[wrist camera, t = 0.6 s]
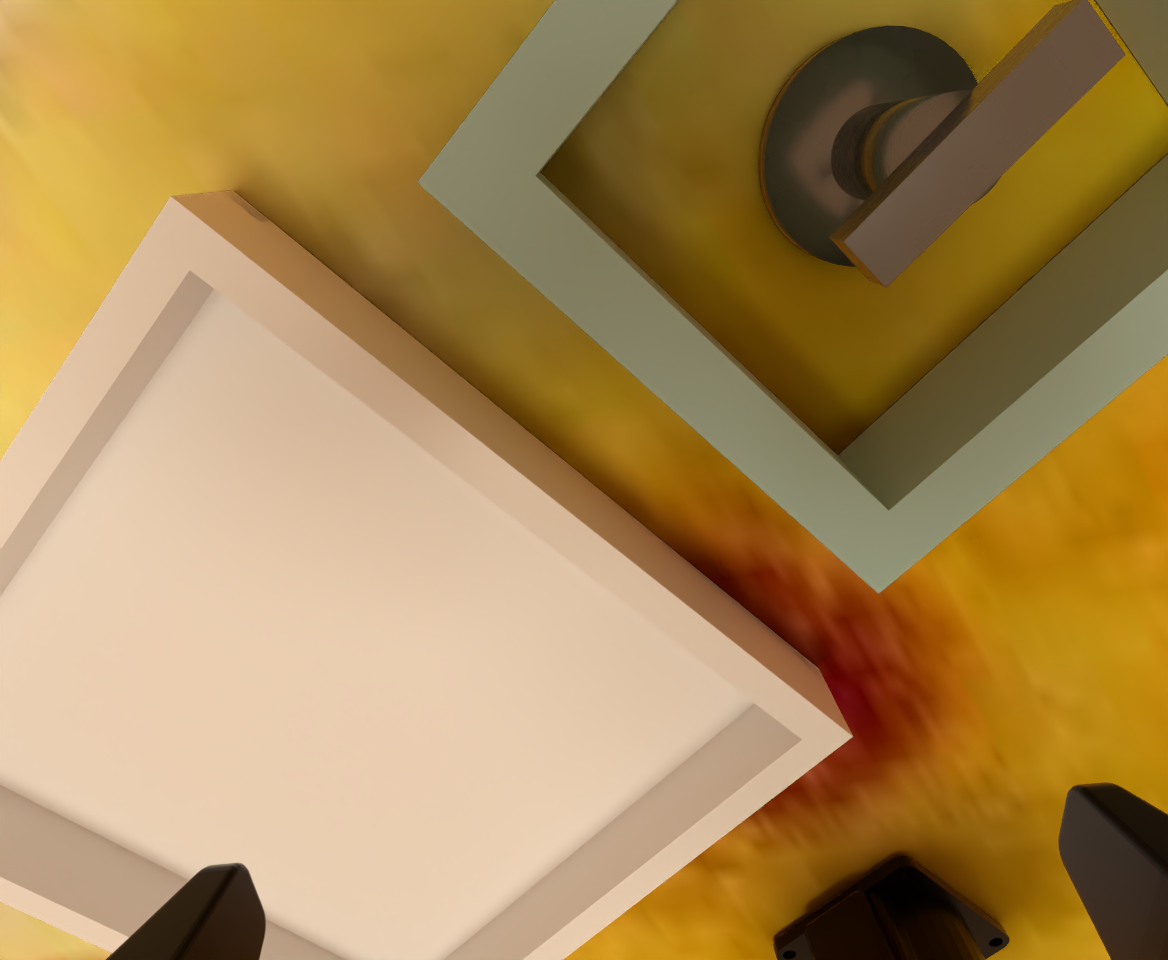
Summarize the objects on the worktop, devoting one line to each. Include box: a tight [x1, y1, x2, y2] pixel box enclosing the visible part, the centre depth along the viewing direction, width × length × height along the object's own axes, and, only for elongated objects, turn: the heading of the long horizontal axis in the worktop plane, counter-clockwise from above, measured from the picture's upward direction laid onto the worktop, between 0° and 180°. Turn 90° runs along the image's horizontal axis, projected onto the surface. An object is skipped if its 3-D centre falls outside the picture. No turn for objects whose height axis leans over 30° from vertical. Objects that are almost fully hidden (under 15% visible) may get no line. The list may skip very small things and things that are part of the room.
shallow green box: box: [417, 0, 1168, 594], centre depth 16 cm, size 14×14×4 cm
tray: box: [0, 190, 853, 960], centre depth 22 cm, size 21×21×3 cm
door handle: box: [759, 0, 1125, 287], centre depth 15 cm, size 5×5×5 cm
